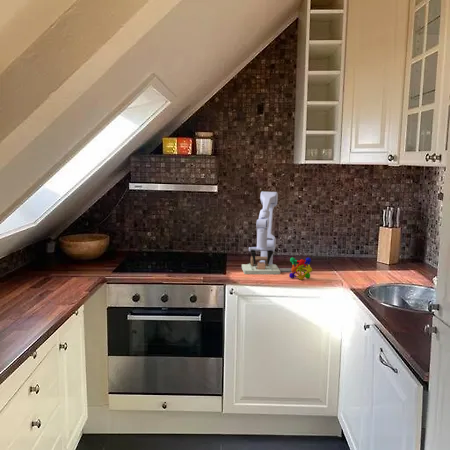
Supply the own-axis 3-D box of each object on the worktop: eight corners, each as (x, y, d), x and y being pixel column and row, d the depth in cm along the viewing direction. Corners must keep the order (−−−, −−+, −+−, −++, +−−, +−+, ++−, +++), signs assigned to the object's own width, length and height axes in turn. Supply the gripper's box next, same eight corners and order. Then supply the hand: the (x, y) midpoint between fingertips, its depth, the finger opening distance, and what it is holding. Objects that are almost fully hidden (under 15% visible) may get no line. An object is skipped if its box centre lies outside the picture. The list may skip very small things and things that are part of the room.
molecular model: (309, 277, 260) (310, 256, 258) (312, 280, 253) (313, 259, 251) (288, 277, 260) (289, 256, 258) (291, 280, 253) (291, 259, 251)
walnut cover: (250, 263, 282) (250, 256, 281) (266, 263, 282) (266, 256, 282) (251, 266, 275) (252, 258, 274) (268, 266, 275) (268, 259, 275)
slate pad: (279, 269, 278) (279, 268, 278) (291, 269, 278) (291, 268, 278) (281, 272, 271) (281, 271, 271) (293, 272, 272) (293, 271, 272)
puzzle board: (241, 267, 280) (241, 263, 280) (275, 267, 281) (275, 263, 281) (244, 274, 264) (244, 269, 264) (280, 274, 266) (280, 269, 265)
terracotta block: (257, 271, 273) (257, 262, 272) (263, 271, 273) (264, 262, 272) (257, 272, 269) (258, 263, 268) (265, 272, 269) (265, 263, 268)
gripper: (249, 240, 264) (249, 265, 266) (276, 241, 265) (275, 265, 267) (248, 238, 271) (247, 262, 273) (273, 239, 272) (273, 262, 274)
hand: (261, 263), depth 270 cm, fingers open, 7 cm apart
